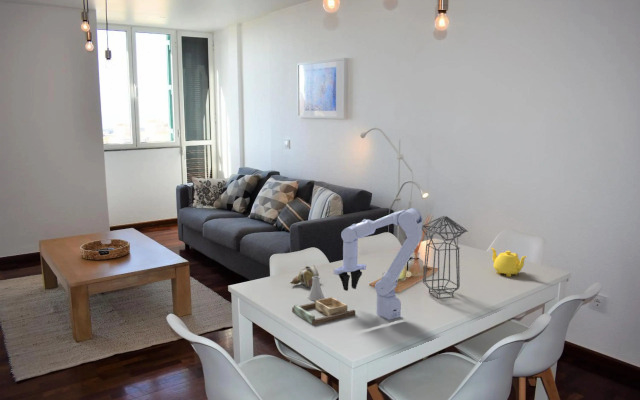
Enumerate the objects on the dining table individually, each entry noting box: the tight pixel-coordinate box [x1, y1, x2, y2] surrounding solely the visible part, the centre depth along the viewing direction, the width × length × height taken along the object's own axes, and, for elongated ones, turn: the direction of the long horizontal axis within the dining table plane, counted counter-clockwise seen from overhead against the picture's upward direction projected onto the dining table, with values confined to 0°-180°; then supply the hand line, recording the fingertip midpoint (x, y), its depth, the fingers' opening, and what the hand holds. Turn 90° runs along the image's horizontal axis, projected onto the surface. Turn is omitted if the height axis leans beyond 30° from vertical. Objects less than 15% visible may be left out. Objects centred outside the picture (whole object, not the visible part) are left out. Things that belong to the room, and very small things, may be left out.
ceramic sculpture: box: [289, 264, 320, 288], centre depth 246 cm, size 11×9×15 cm
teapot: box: [490, 247, 528, 278], centre depth 264 cm, size 20×15×12 cm
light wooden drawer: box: [314, 296, 348, 317], centre depth 211 cm, size 11×8×4 cm
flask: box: [307, 276, 325, 302], centre depth 225 cm, size 7×7×10 cm
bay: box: [291, 301, 356, 326], centre depth 209 cm, size 16×19×4 cm
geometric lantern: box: [422, 215, 469, 299], centre depth 231 cm, size 16×16×35 cm
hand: (349, 289), depth 215 cm, fingers open, 3 cm apart
